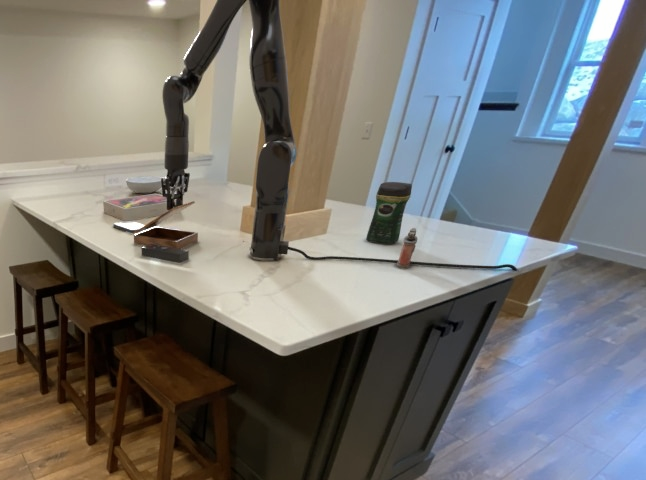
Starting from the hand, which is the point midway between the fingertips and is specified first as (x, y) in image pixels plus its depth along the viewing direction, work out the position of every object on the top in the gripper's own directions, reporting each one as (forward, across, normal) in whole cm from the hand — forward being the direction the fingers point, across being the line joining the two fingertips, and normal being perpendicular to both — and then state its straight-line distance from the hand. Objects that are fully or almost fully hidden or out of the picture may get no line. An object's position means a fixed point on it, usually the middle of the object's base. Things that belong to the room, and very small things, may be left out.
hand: (174, 208), depth 150 cm
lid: (+4, 0, +4) cm, 6 cm away
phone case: (+13, +11, +28) cm, 33 cm away
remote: (+12, -15, -6) cm, 20 cm away
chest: (+13, 0, +3) cm, 13 cm away
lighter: (+11, +17, -70) cm, 73 cm away
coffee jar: (+11, +39, -59) cm, 72 cm away
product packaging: (+14, +38, +42) cm, 58 cm away
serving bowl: (+14, +80, +71) cm, 108 cm away
